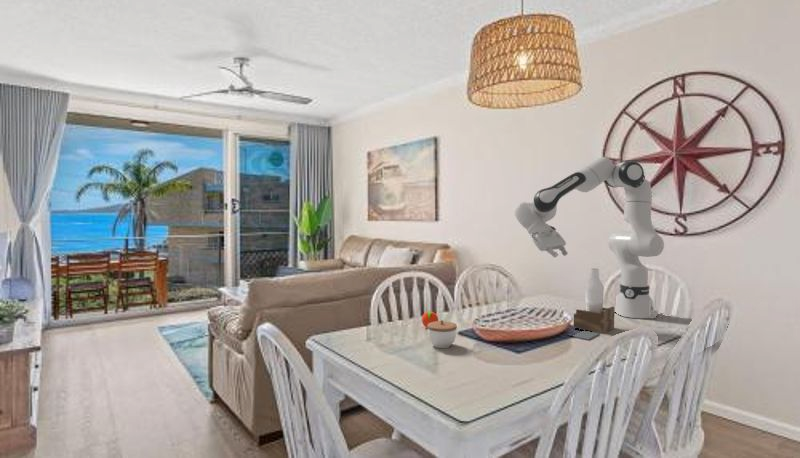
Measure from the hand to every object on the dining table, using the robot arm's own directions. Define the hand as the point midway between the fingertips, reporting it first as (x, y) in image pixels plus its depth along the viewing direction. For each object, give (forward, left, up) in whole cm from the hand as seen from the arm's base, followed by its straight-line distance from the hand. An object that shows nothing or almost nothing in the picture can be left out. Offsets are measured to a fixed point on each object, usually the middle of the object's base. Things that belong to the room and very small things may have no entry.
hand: (561, 255), depth 198 cm
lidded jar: (+63, -15, -30) cm, 71 cm away
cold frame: (0, +15, -29) cm, 33 cm away
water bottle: (0, +15, -30) cm, 33 cm away
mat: (+13, +15, -29) cm, 36 cm away
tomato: (+48, -34, -30) cm, 66 cm away
